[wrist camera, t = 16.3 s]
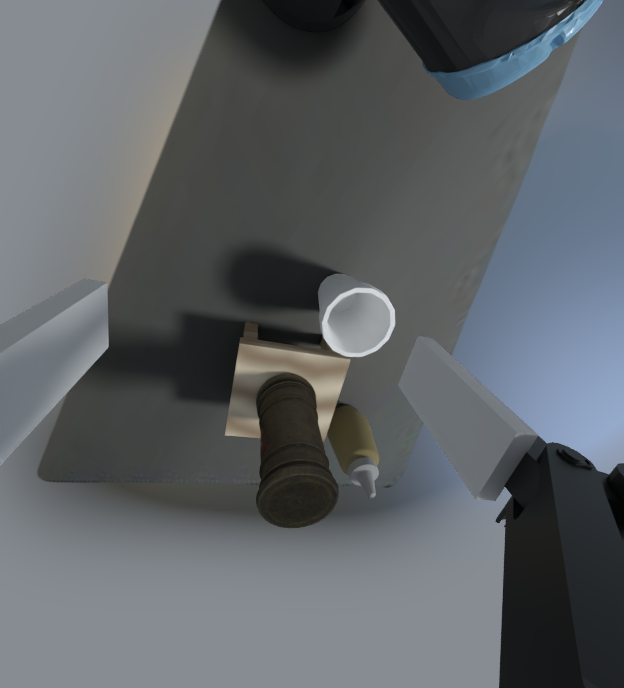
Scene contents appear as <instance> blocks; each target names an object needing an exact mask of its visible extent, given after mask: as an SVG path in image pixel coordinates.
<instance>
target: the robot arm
mask: <svg viewBox="0 0 624 688" xmlns="http://www.w3.org/2000/svg"><path fill="white" fill-rule="evenodd" d="M364 1H365V0H264V2H265V3H266V4H267V6H268V7H269V8H270V9H271V10H272V11H273V12H274V13H275V14H276V15H277V16H278V17H279V18H281V19H282V20H283V21H285V22H286V23H288V24H289V25H291V26H293V27H295V28H298V29H301V30H305V31H311V32H321V31H327V30H330V29H333V28H336V27H338V26H340V25H341V24H343V23H345V22H346V21H347V20H349V19H350V18H351V17H352V16H353V15H354V14H355V13H356V12H357V11H358V10H359V8H360V7H361V6H362V4H363V3H364ZM378 2H379V3H380V4H381V6H382V7H383V8H384V10H385V11H386V12H387V14H388V15H389V16H390V18H391V19H392V20H393V22H394V23H395V24H396V26H397V27H398V29H399V30H400V31H401V33H402V34H403V35H404V37H405V38H406V39H407V41H408V42H409V43H410V45H411V46H412V47H413V49H414V50H415V51H416V53H417V54H418V56H419V57H420V58H421V60H422V61H423V62H422V63H423V67H424V69H425V70H426V72H427V73H428V74H430V75H431V76H433V77H435V78H436V79H437V81H438V82H439V83H440V84H441V85H442V87H443V88H444V89H445V90H446V92H447V93H448V94H449V95H451V96H453V97H455V98H457V99H461V100H471V99H477V98H480V97H483V96H486V95H489V94H491V93H493V92H495V91H497V90H499V89H501V88H503V87H505V86H507V85H509V84H510V83H512V82H514V81H516V80H517V79H519V78H520V77H522V76H523V75H525V74H526V73H528V72H529V71H531V70H532V69H534V68H535V67H536V66H538V65H539V64H540V63H542V62H543V61H544V60H545V59H547V58H548V57H549V54H550V52H551V51H552V50H553V49H555V48H557V47H558V46H560V45H562V44H564V43H566V42H567V41H568V40H569V39H570V38H571V37H572V36H573V35H574V34H576V33H577V32H578V31H579V30H580V29H581V28H582V27H583V26H584V24H585V23H586V22H587V21H588V20H589V19H590V18H591V17H592V15H593V14H594V13H595V12H596V10H597V9H598V8H599V6H600V5H601V3H602V2H603V0H378ZM108 347H109V339H108V295H107V282H102V281H95V280H90V279H83V280H81V281H79V282H77V283H75V284H74V285H72V286H70V287H68V288H66V289H65V290H63V291H61V292H59V293H57V294H55V295H54V296H52V297H50V298H48V299H46V300H45V301H43V302H41V303H39V304H37V305H36V306H34V307H32V308H30V309H28V310H26V311H25V312H23V313H21V314H19V315H17V316H16V317H14V318H12V319H10V320H8V321H6V322H5V323H3V324H1V325H0V465H1V464H2V463H3V462H4V461H5V460H6V459H7V458H8V457H9V456H10V454H11V453H12V452H13V451H14V450H15V449H16V448H17V447H18V445H20V443H21V442H22V441H23V440H24V439H25V438H26V437H27V436H28V435H29V434H30V433H31V432H32V430H33V429H34V428H35V427H36V426H37V425H38V424H39V423H40V421H42V419H43V418H44V417H45V416H46V415H47V414H48V413H49V412H50V411H51V410H52V409H53V408H54V406H55V405H56V404H57V403H58V402H59V401H60V400H61V399H62V398H63V397H64V395H65V394H66V393H67V392H68V391H69V390H70V389H71V388H72V387H73V386H74V385H75V383H76V382H77V381H78V380H79V379H80V378H81V377H82V376H83V375H84V374H85V373H86V371H87V370H88V369H89V368H90V367H91V366H92V365H93V364H94V363H95V362H96V361H97V359H98V358H99V357H100V356H101V355H102V354H103V353H104V352H105V351H106V350H107V348H108ZM398 386H399V387H400V389H401V390H402V392H403V393H404V395H405V396H406V398H407V399H408V401H409V402H410V404H411V405H412V407H413V408H414V410H415V411H416V413H417V414H418V416H419V417H420V418H421V420H422V421H423V423H424V424H425V426H426V427H427V429H428V430H429V432H430V433H431V435H432V436H433V438H434V439H435V440H436V442H437V443H438V445H439V446H440V448H441V449H442V451H443V452H444V454H445V455H446V457H447V458H448V460H449V461H450V463H451V464H452V466H453V467H454V469H455V470H456V472H457V473H458V474H459V476H460V477H461V479H462V480H463V482H464V483H465V485H466V486H467V488H468V489H469V491H470V492H471V494H472V495H473V496H474V498H475V499H476V500H494V501H496V499H497V497H498V496H499V495H500V493H501V492H502V490H503V489H504V487H506V488H507V490H508V491H509V492H510V493H511V495H512V497H511V498H510V500H509V501H508V502H507V504H506V505H505V507H504V508H503V510H502V511H501V513H500V514H499V515H498V517H497V519H496V522H497V523H500V521H501V520H502V519H506V525H505V526H504V527H506V528H505V553H504V579H503V603H502V604H503V605H502V629H501V655H500V679H499V680H500V682H499V688H624V463H623V464H618V465H617V466H616V467H615V468H614V470H613V471H612V472H611V473H610V474H606V473H603V472H599V471H597V470H596V468H595V467H594V465H593V464H592V463H591V462H590V461H589V460H588V459H587V458H585V457H584V456H582V455H581V454H580V453H578V452H577V451H575V450H573V449H571V448H569V447H567V446H564V445H561V444H559V443H553V442H552V443H548V444H547V443H546V442H545V441H543V440H542V439H541V438H540V437H539V436H538V434H536V432H535V431H533V430H532V429H531V428H530V427H529V426H528V425H527V424H526V423H524V421H523V420H521V419H520V418H519V417H518V416H517V415H516V414H515V413H514V412H513V411H511V410H510V409H509V408H508V407H507V406H506V405H505V404H504V403H503V402H502V401H501V400H499V399H498V398H497V397H496V396H495V395H494V394H493V393H492V392H491V391H490V390H488V389H487V388H486V387H485V386H484V385H483V384H482V383H481V382H480V381H479V380H477V379H476V378H475V377H474V376H473V375H472V374H471V373H470V372H469V371H467V370H466V369H465V368H464V367H463V366H462V365H461V364H460V363H459V362H457V360H455V359H454V358H453V357H452V356H451V355H450V354H449V353H448V352H447V351H446V350H444V349H443V348H442V347H441V346H440V345H439V344H438V343H437V342H436V341H435V340H433V339H432V338H427V337H421V336H418V337H417V340H416V342H415V345H414V347H413V349H412V352H411V354H410V357H409V359H408V362H407V364H406V367H405V369H404V372H403V374H402V377H401V379H400V382H399V384H398Z"/></svg>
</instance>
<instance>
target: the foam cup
mask: <svg viewBox="0 0 624 688" xmlns="http://www.w3.org/2000/svg"><path fill="white" fill-rule="evenodd" d="M318 299H319V309H320V314H319V322H320V329H321V333H322V335H323V338H324V339H325V341H326V342H327V343H328V345H329V346H330V347H331V349H332V350H333V351H335V352H337V353H339V354H341V355H344V356H346V357H362V356H365V355H367V354H370V353H372V352H375V351H377V350H378V349H379V348H380V347H381V346H382V345H383V344H384V343H385V342H386V341H388V340H389V337H390V335H391V333H392V331H393V328H394V326H395V309H394V308H393V306H392V304H391V303H390V301H389V299H388V297H387V296H386V295H385V294H384V293H383V292H381V291H380V290H378V289H377V288H375V287H373V286H372V285H370V284H368V283H362V282H360V281H358V280H356V279H354V278H352V277H350V276H347V275H345V274H333V275H331V276H328V277H326V279H325V280H324V281H323V282H322V283H321V284H320V287H319V290H318Z"/></svg>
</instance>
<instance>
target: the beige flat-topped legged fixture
mask: <svg viewBox="0 0 624 688" xmlns="http://www.w3.org/2000/svg"><path fill="white" fill-rule="evenodd" d="M320 346H321V349H316V348H309V347H303V346H296V345H289V344H283V343H276V342H269V341H263V340H258V324H255V323H249V322H245V328H244V334H243V337H240V343H239V349H238V355H237V361H236V368H235V374H234V380H233V387H232V393H231V399H230V405H229V412H228V418H227V424H226V431H225V435H229V436H241V437H253V438H261V431H260V427H259V417H258V414H257V407H256V398H257V394H258V392H259V390H260V388H261V387H262V385H263V384H264V383H265V382H266V381H267V380H269V379H270V378H272V377H274V376H276V375H279V374H284V373H292V374H297V375H299V376H301V377H303V378H304V379H306V380H307V381H308V382H309V383H310V384H311V385H312V387H313V389H314V391H315V394H316V402H317V409H316V411H317V414H318V425H319V429H320V433H321V437H322V441H323V443H324V441H325V438H326V435H327V432H328V429H329V426H330V423H331V419H332V416H333V413H334V410H335V407H336V404H337V401H338V398H339V395H340V391H341V388H342V385H343V382H344V379H345V376H346V373H347V370H348V367H349V363H350V360H351V359H350V357H346V356H344V355H341V354H339V353H337V352H335V351H333V350H332V349H331V347H330V346H329V345H328V343H327V342H326V341H325V339H324V338H323V336H322V340H321V344H320Z"/></svg>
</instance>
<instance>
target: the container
mask: <svg viewBox="0 0 624 688" xmlns="http://www.w3.org/2000/svg"><path fill="white" fill-rule="evenodd" d="M256 407H257V414H258V417H259V427H260V431H261V466H260V478H261V482H260V485H259V490H258V493H257V497H256V503H257V507H258V510H259V512H260V514H261V516H262V517H263V518H264V519H265V520H266V521H268V522H269V523H271V524H273V525H276V526H279V527H284V528H300V527H305V526H309V525H312V524H314V523H317V522H319V521H320V520H322V519H324V518H325V517H326V516H327V515H328V514H329V513H330V512H331V511H332V510H333V509H334V507H335V505H336V503H337V500H338V485H337V483H336V481H335V479H334V478H333V476H332V473H331V472H330V470H329V461H328V458H327V456H326V454H325V450H324V445H323V441H322V437H321V433H320V429H319V425H318V414H317V411H316V409H317V402H316V394H315V391H314V389H313V387H312V385H311V384H310V383H309V382H308V381H307V380H306V379H304V378H303V377H301V376H299V375H297V374H292V373H284V374H279V375H276V376H274V377H272V378H270V379H269V380H267V381H266V382H265V383H264V384H263V385H262V387H261V388H260V390H259V392H258V394H257V398H256Z"/></svg>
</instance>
